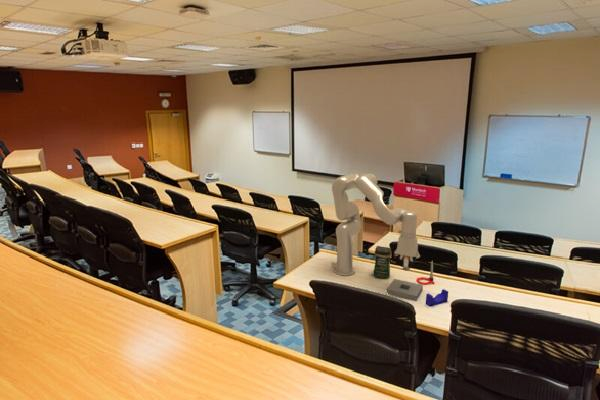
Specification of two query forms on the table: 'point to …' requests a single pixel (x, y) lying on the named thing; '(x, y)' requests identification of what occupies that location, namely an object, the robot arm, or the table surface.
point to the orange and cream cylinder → (406, 263)
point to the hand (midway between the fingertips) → (406, 266)
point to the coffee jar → (382, 262)
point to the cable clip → (437, 298)
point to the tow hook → (427, 278)
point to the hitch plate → (405, 289)
